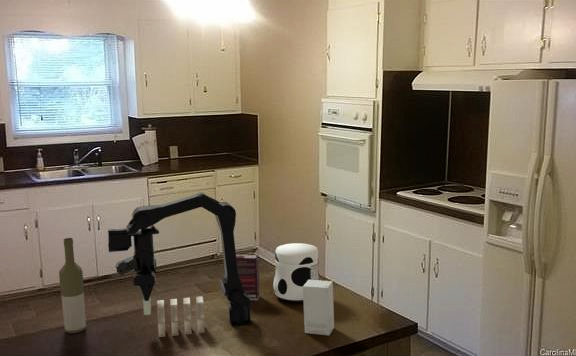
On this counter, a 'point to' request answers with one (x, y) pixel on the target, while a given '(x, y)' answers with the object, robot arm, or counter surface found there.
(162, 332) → the domino
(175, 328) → the domino
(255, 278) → the supplement box
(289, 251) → the milk container
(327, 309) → the skincare box
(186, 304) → the domino
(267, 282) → the counter surface
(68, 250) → the bottle
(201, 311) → the end domino
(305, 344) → the counter surface
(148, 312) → the domino
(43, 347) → the counter surface
